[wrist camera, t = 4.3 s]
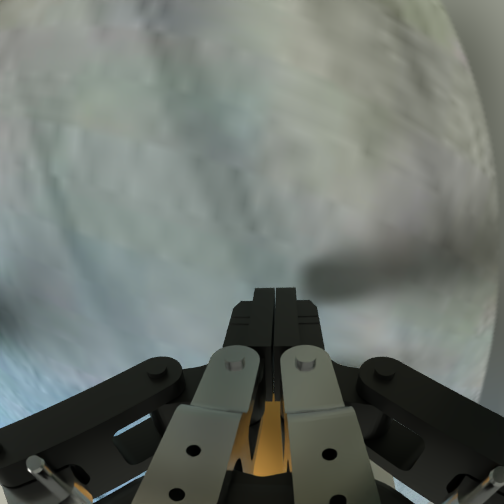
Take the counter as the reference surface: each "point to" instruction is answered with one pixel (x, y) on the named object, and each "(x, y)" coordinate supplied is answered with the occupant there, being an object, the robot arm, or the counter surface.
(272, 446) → the ball
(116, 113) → the counter surface
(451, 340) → the counter surface
